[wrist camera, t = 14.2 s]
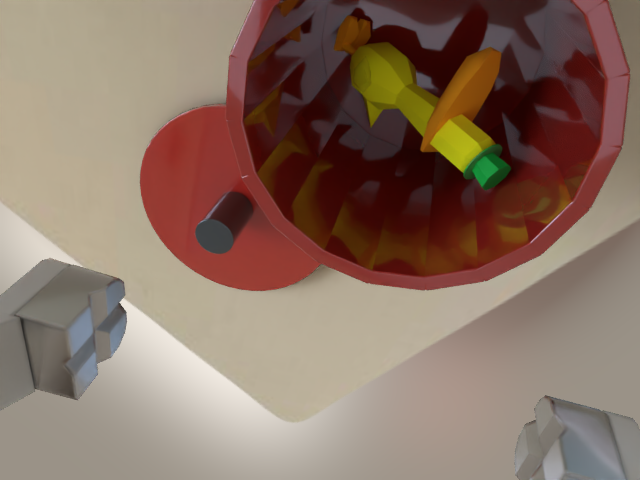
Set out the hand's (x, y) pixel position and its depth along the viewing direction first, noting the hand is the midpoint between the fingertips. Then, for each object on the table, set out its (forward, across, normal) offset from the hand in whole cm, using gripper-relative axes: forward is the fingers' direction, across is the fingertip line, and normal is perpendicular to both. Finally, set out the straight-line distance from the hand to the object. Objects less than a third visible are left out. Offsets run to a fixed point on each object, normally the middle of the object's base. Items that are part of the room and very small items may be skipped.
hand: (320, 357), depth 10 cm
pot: (+24, -1, -1) cm, 25 cm away
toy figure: (+23, +4, -1) cm, 24 cm away
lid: (+24, +9, +12) cm, 28 cm away
